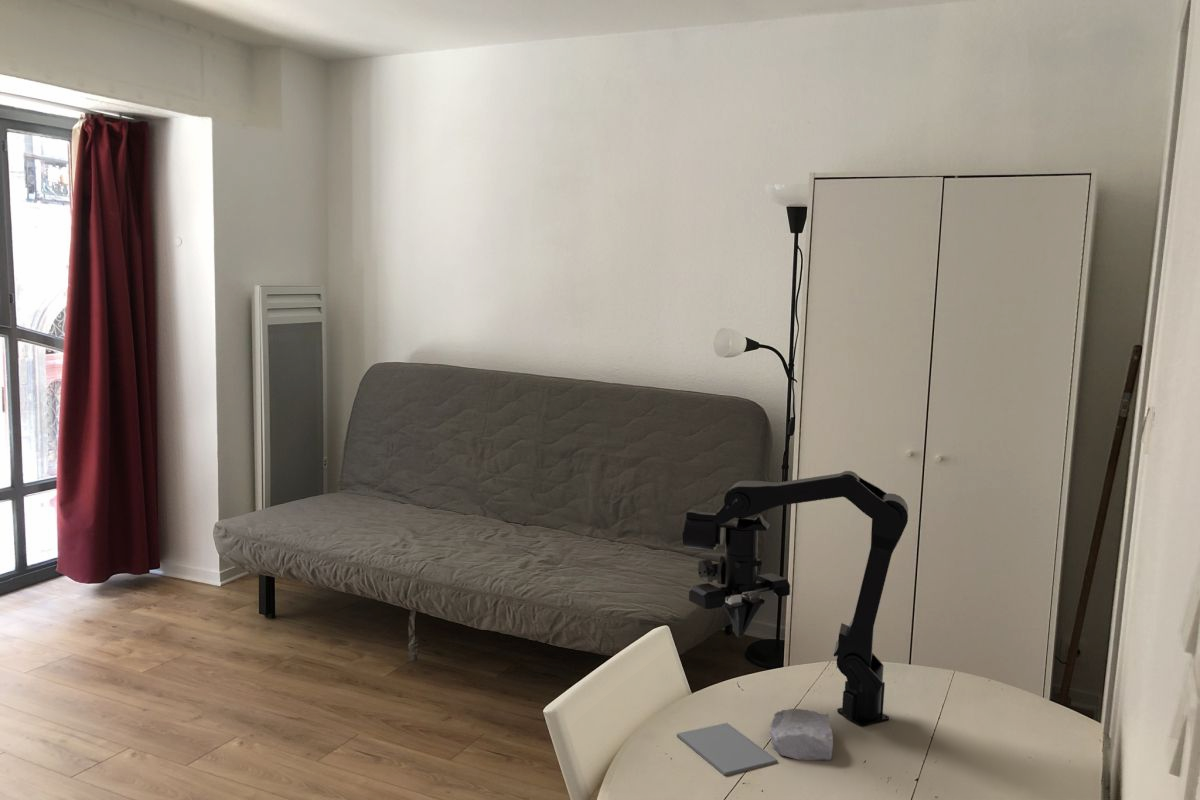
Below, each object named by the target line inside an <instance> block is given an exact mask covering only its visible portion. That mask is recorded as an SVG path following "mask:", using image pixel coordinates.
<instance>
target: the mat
mask: <svg viewBox="0 0 1200 800" xmlns="http://www.w3.org/2000/svg"><path fill="white" fill-rule="evenodd" d="M676 737H677V738H678V739H679V740H680V741H682V742H683V743H684V744H685V745H687V746H688V747H689V748H690V749H692V751H694V752H695V753H696V754H698V755H699V756H700V757H701V758H702V759H704V760H705V761H706V762H707V763H709V765H711V767H713V768H714V769H716V771H718V772H719V773H720V774H722V775H723V776H724V777H725V776H729V775H734V774H738V773H742V772H745V771H750V770H754V769H758V768H761V767H760V766H762V767H765V765H766V766H769V764H770V765H772V764H773V765H774V764H777V763H778V759H777V758H776V757H775V756H773V755H772V754H771V753H769V752H768V751H766V750H765V749H764V748H762V747H761V746H760V745H758V744H756V743H755V742H754V741H753V740H751V738H749V737H747V736H746V735H744V734H743V733H742V732H740V731H739V730H737V728H735V727H733V726H732V725H731V724H729V723H728V722H724V723H720V724H715V725H710V726H706V727H702V728H701V727H699V728H697V729H692V730H686V731H682V732H678V733H676ZM757 767H758V768H757Z"/></svg>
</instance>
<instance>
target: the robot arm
mask: <svg viewBox="0 0 1200 800" xmlns="http://www.w3.org/2000/svg"><path fill="white" fill-rule="evenodd" d="M837 498H845V499H846V500H848V501H849V502H851V503H852V504H853V505H854V506H855V507H857V508H858V509H859V510H860V511H861V512H862V513H863V514H864V515H866V516H868V517H869V518H870V519H871V530H870V531H871V535H870V536H871V537H870V549H869V553H868V557H867V561H866V565H865V568H864V573H863V577H862V580H861V585H860V589H859V593H858V597H857V600H856V601H857V602H856V605H855V609H854V614H853V617H852V619H851V621H850V623H849V625H847V624H845V623H843V622H841V623H840V628H839V632H838V639H837V641H836V642H835V647H834V652H833V657H836V667H837V668H838V670H839V672H840V673H841V674H842V675H844V677H846V681H845V682H844V690H843V691H842V692H843V693H842V704H841V706H842V707H839V708H837V709H836V710H837V711H836V712H837V713H838V714H840V715H842V716H843V717H845V718H847V719H848V720H849V721H852V722H853V723H855V724H857V725H858V726H860V727H865V726H870V725H875V724H879V723H882V722H883V723H884V722H888V721H889V720H890V716H888V715H887V714H885V713H884V699H885V682H884V664H883V663H882V661H881V660H880V659H879V658H878V657H877V656H876V655H875V654H874V653H873V648H874V647H873V645H874V628H875V627H874V626H875V623H876V619H877V616H878V615H877V614H878V612H879V611H878V610H879V607H880V604H881V603H880V602H881V599H882V595H883V592H884V591H883V590H884V588H885V583H886V578H887V574H888V572H889V568H890V567H889V566H890V564H891V560H892V559H891V558H892V555H893V553H894V551H895V549H896V547H897V545H898V543H899V542H900V540H901V537H902V535H903V533H904V532H905V529H906V526H907V524H908V522H909V521H908V520H909V507H908V504H907V502H906V500H905V499H904V498H903V497H902V496H901V495H898V494H896V493H887V492H885V491H884V490H883V489H881V488H880V487H878V486H877V485H875V484H873V483H871V482H869V481H867V480H865V479H864V478H862V477H861V476H859V475H858V473H856V472H854V471H852V470H845V471H842V472H840V473H839V472H838V473H833V474H827V475H826V474H825V475H820V476H813V477H806V478H799V479H793V480H786V481H785V480H784V481H780V482H775V481H774V482H773V481H772V482H771V481H764V480H740V481H737V482H736V483H734V484H733V485H732V486H731V487H730V488H729V489H728V490H727V492H726V493H725V496H724V498H723V499H724V500H723V502H724V505H723V506H720V507H719V509H718V510H716V512H710V511H709V512H706V511H699V510H695V509H689V510H688V511H687V512H686V515H685V516H686V518H685V521H684V526H683V531H682V545H683V547H684V548H686V549H697V550H698V549H699V550H707V551H715V550H716V549H717V548H718V546H722V545H723V543H724V538H725V543H724V544H725V547H724V554H722V555H720V557H719V563H713V561H712V560H711V559H704V560H699V561H698V566H697V572H698V577H699V578H700V579H705V578H706V580H707V583H702V584H696V585H692V586H691V587H690V589H689V591H688V601H689V602H692V603H693V604H695V605H697V606H699V607H701V608H703V609H705V610H713V609H718V608H723V607H724V608H725V610H726V612H727V615H728V617H729V619H730V622H731V625H732V629H733V632H734V635H735V636H736V637H737V638H742V637H744V635H745V633H746V631H747V629H748V627H749V626H750V624H751V621H752V620H753V618H754V617H755V615H756V613H757V612H758V611H759V610H760V607H761V606H762V605H764V604H765V603H766V600H765V599H763V598H761V593H762V592H769V591H772V592H773V595H775V596H776V597H777V598H781V597H786V596H790V595H791V584H790V582H789V580H788V579H787V578H785V577H783V576H780V575H777V574H775V573H773V572H768V573H763V574H758V567H760V566H762V565H763V564H762V563H763V561H762V559H760V558H758V547H759V546H758V543H759V542H758V541H759V540H758V539H759V537H758V536H759V534H758V533H759V532H767V531H768V529H769V527H770V523H769V522H768V521H766V520H765V519H764V517H763V515H762V513H764V512H766V511H769V510H771V509H773V508H776V507H780V506H786V505H795V504H801V503H808V502H815V501H823V500H829V499H831V500H832V499H837ZM755 515H757V517H755V518H750V517H751V516H755ZM733 519H738V520H737V521H732V520H733ZM757 574H758V575H757ZM714 581H716V583H717V584H719V585H723V586H724V587H723V586H722V587H718V586H716V585H713V584H711V583H713V582H714Z"/></svg>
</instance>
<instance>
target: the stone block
mask: <svg viewBox="0 0 1200 800" xmlns="http://www.w3.org/2000/svg"><path fill="white" fill-rule="evenodd" d="M772 718H773V719H772V720H771V722H770V723H771V725H770V728H769V734H770V740H771V745H772V748H773V749H775V751H776V752H777V754H779V755H781V756H784V757H787V758H791V759H794V760H800V761H801V760H805V761H806V760H807V761H826V762H828V761H831V759H832V758H833V750H834V735H833V730H832V727H831V725H830V724H831V723H830V716H829V713H827V712H826V713H819V712H816V711H814V710H809V709H802V708H790V709H789V708H788V709H782V710H780V711H777V712H775V713H773V717H772Z"/></svg>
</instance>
